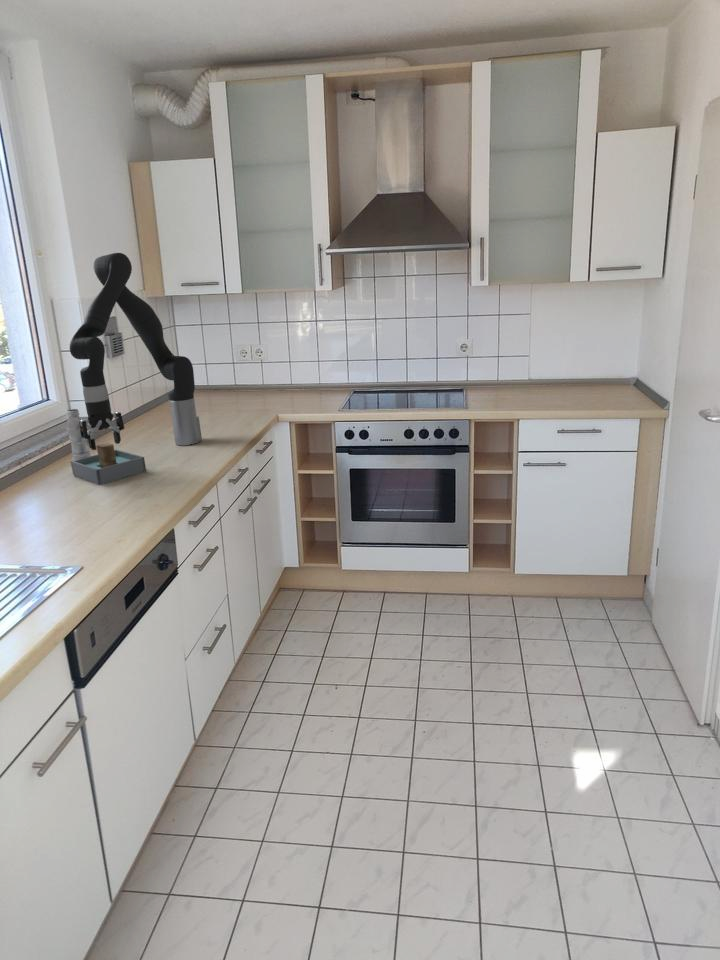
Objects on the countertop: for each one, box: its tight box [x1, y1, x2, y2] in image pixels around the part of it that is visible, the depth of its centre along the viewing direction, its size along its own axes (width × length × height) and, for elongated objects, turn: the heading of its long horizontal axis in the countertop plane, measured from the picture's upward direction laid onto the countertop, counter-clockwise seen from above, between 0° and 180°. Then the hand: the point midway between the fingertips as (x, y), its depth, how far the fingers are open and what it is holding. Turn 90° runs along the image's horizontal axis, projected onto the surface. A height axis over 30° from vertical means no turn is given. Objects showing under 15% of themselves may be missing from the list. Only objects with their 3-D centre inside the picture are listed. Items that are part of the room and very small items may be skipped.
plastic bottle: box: [65, 408, 92, 461], centre depth 247 cm, size 6×7×20 cm
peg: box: [96, 442, 117, 468], centre depth 237 cm, size 4×4×10 cm
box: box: [70, 449, 147, 486], centre depth 237 cm, size 17×18×5 cm
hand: (105, 446), depth 235 cm, fingers open, 8 cm apart
